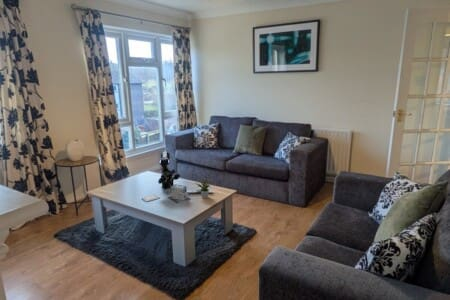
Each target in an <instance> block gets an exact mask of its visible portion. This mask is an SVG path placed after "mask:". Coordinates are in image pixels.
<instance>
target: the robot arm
mask: <svg viewBox="0 0 450 300" xmlns="http://www.w3.org/2000/svg"><path fill="white" fill-rule="evenodd" d="M170 159H171V154H170V152H168V150H166V151H162V152H161V153H160V160H159V165H160V169H161V175H160V178H159V179H158V181H157V182H158V185H159V184H161V188H163V189H165V190H166V189H170V188H171V189H172V186H173V185H175V184H174V181H177V180H179V179H180V177H181V175H180V173H176V169H175V168H174V169H171V170H170V169H169V165H170V164H171V163H170V162H171V160H170ZM175 173H176V174H175Z"/></svg>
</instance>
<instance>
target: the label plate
mask: <svg viewBox="0 0 450 300" xmlns="http://www.w3.org/2000/svg"><path fill="white" fill-rule="evenodd" d="M158 199H161V197H160V196H158V195H157V194H155V193H154V194H151V195H147V196H144V197H141V200H143V201H145V202H147V203H148V202H151V201H155V200H158Z"/></svg>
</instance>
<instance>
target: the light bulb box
mask: <svg viewBox="0 0 450 300" xmlns="http://www.w3.org/2000/svg"><path fill="white" fill-rule="evenodd" d="M187 191H188V187H187V185H186V184H178V183H175V184H174V185H173V186H172V187H171V196H172V197H171V198H172V199H175V200H177V201H178V200H179V201H185V200H186V199H187V197H188V192H187Z"/></svg>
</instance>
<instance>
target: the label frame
mask: <svg viewBox="0 0 450 300" xmlns="http://www.w3.org/2000/svg"><path fill="white" fill-rule="evenodd" d="M167 198H168V199H169V200H171V201H173V202H174V203H176V204H179V203H180V202H179V201H178V200H177V199H172V195H171V196H170V195H169V196H168V197H167ZM186 199H187V200H192V199H191V197H189V196H187V198H186Z"/></svg>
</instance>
